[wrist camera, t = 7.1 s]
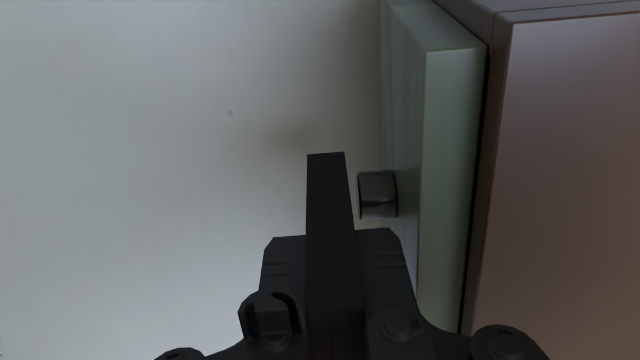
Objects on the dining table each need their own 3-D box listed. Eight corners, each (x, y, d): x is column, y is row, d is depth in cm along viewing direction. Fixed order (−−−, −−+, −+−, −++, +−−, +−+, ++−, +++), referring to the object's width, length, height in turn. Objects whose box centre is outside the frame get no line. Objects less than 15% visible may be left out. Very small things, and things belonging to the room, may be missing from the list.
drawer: (356, 253, 21) (374, 413, 14) (341, -9, 15) (359, 56, 8) (682, 231, 20) (859, 388, 14) (798, -51, 15) (1205, -17, 8)
